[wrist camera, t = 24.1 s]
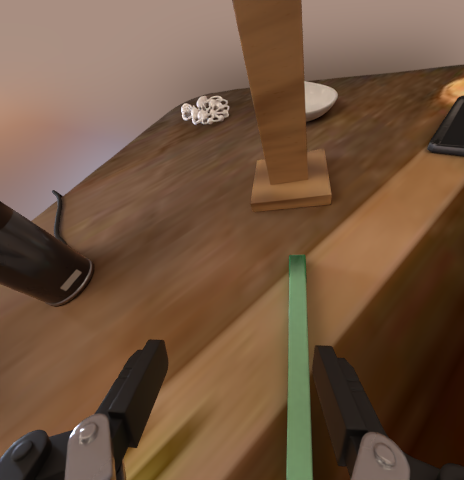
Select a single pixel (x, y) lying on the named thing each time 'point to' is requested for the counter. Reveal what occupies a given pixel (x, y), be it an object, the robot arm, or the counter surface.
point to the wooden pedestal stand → (280, 106)
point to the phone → (450, 132)
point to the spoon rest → (318, 99)
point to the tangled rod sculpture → (203, 115)
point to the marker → (298, 376)
